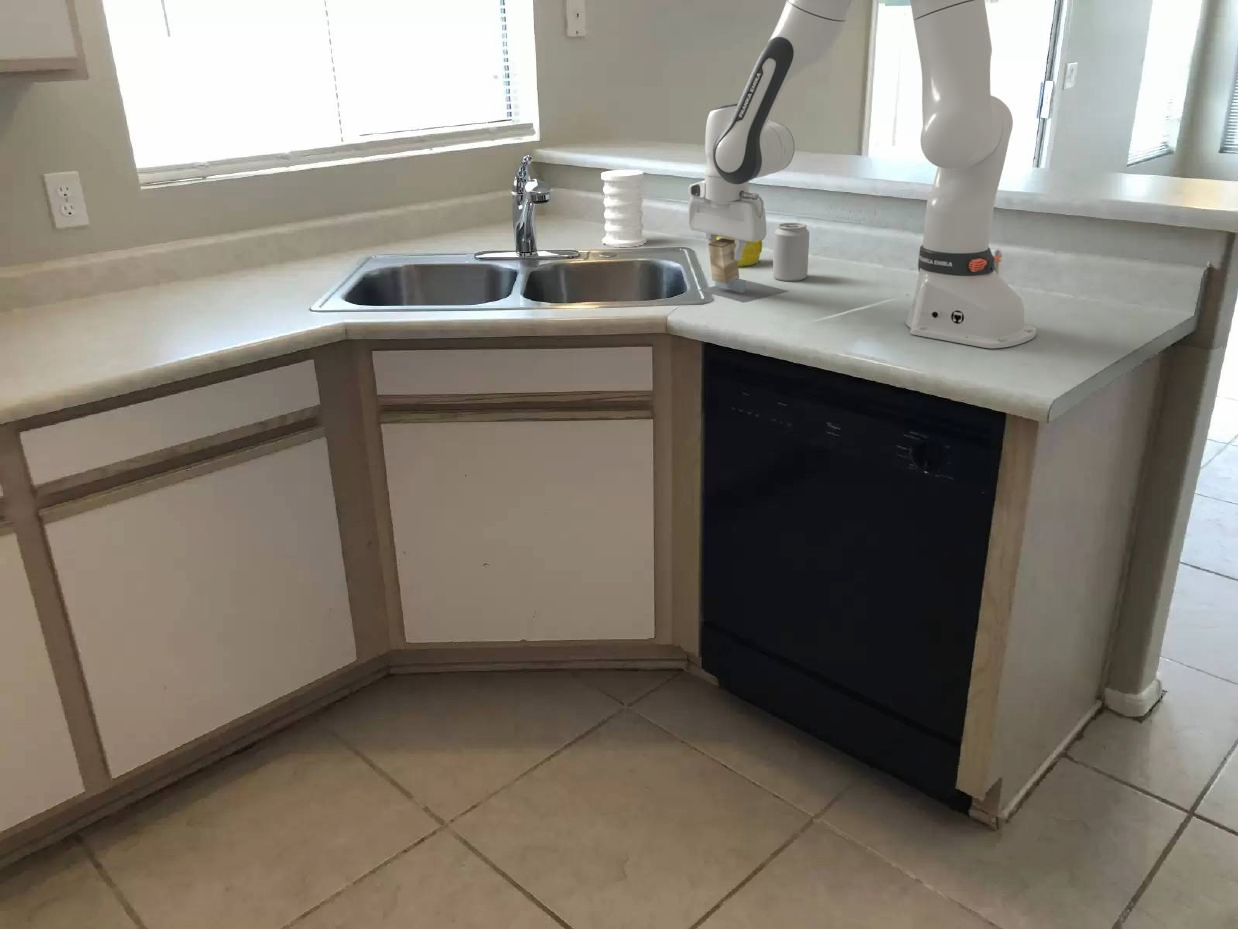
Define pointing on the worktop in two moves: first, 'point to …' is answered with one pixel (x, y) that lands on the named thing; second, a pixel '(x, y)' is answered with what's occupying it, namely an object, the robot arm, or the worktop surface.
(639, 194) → the decorative container
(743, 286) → the strip
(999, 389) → the worktop surface
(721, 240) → the block
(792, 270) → the can
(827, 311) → the worktop surface
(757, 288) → the mat
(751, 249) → the yellow pot
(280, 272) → the worktop surface
